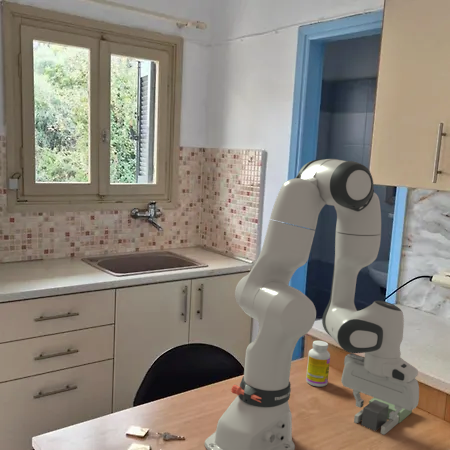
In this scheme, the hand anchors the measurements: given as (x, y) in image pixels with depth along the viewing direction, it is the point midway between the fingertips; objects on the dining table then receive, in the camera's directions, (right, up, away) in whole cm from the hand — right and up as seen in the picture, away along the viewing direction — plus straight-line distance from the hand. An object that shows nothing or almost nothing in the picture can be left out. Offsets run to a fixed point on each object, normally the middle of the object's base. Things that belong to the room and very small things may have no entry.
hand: (375, 412), depth 137 cm
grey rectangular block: (0, -3, +1) cm, 3 cm away
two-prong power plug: (+3, -3, +5) cm, 6 cm away
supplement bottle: (-12, +1, +24) cm, 26 cm away
